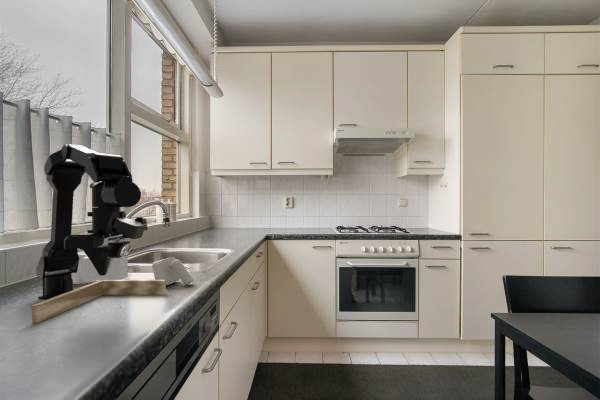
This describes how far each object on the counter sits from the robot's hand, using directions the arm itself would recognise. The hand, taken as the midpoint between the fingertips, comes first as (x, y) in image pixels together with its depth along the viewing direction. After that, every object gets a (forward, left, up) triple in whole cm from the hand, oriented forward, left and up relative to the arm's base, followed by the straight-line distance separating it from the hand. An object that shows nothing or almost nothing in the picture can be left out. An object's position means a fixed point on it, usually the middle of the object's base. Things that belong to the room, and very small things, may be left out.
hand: (107, 273), depth 73 cm
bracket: (-1, +1, -1) cm, 2 cm away
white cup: (-31, +33, -11) cm, 46 cm away
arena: (-6, +9, -10) cm, 15 cm away
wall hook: (+3, +29, -11) cm, 31 cm away
